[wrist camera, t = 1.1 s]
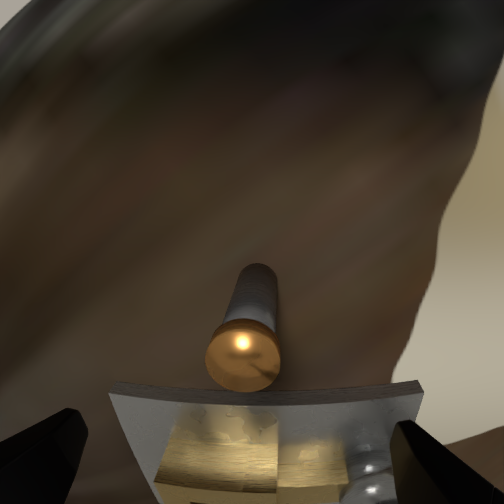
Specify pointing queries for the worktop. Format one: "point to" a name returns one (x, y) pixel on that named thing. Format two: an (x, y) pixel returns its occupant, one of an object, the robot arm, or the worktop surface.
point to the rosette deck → (266, 442)
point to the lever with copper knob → (247, 334)
